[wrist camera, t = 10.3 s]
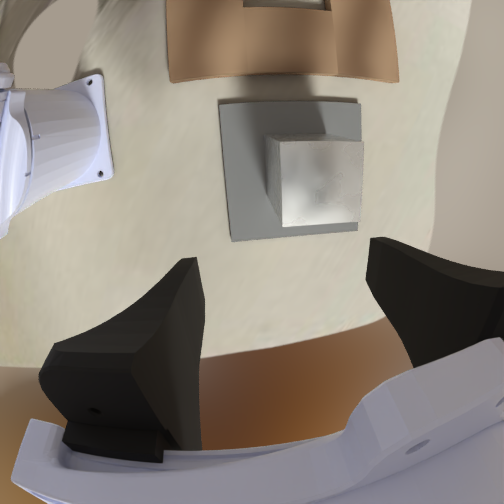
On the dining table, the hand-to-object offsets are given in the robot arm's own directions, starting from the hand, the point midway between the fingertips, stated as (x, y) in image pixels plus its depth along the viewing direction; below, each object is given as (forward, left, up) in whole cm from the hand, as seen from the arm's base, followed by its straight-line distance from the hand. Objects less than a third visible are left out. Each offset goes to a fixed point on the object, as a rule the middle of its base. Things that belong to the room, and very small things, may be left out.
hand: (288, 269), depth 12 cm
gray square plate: (+3, +2, -10) cm, 11 cm away
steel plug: (+3, +2, -10) cm, 11 cm away
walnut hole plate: (+3, +17, -10) cm, 20 cm away
